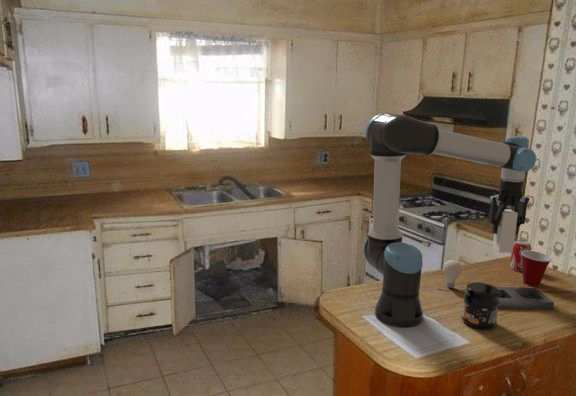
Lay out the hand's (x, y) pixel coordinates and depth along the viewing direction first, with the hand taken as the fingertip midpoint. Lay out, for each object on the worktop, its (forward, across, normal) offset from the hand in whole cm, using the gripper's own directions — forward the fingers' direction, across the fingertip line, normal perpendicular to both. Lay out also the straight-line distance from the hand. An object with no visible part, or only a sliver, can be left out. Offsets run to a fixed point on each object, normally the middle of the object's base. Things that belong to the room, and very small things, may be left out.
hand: (503, 241), depth 169 cm
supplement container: (+19, +18, +26) cm, 37 cm away
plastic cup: (+19, -17, -6) cm, 26 cm away
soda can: (+19, -19, -21) cm, 34 cm away
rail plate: (+19, -1, +10) cm, 21 cm away
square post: (+3, 0, 0) cm, 3 cm away
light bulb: (+19, +18, -1) cm, 26 cm away
